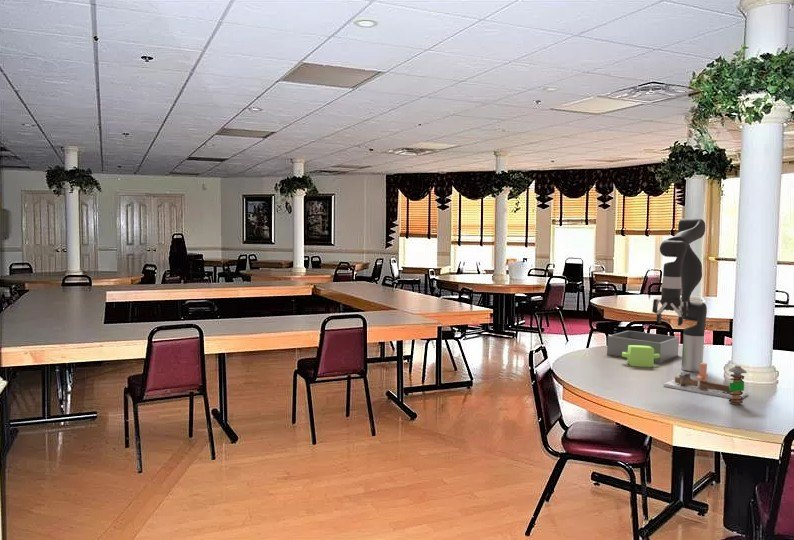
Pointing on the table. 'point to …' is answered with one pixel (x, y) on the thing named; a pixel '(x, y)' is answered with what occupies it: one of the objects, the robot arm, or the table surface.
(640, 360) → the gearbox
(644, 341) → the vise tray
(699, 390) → the hole plate
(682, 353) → the robot arm
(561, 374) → the table surface
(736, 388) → the shock absorber
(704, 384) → the beam
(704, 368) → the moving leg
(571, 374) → the table surface
